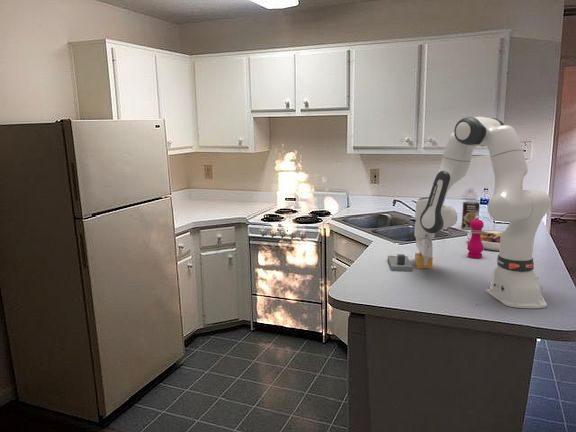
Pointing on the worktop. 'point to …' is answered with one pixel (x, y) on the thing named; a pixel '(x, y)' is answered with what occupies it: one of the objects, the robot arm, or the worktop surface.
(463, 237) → the worktop surface
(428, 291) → the worktop surface
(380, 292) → the worktop surface
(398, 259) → the handle
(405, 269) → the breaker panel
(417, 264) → the orange block
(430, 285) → the worktop surface
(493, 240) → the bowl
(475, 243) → the pepper mill
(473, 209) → the coffee box
